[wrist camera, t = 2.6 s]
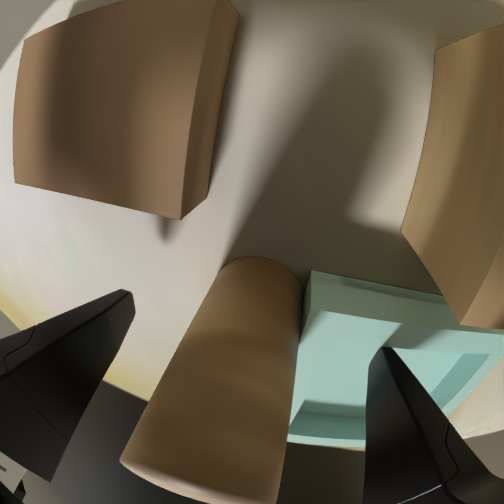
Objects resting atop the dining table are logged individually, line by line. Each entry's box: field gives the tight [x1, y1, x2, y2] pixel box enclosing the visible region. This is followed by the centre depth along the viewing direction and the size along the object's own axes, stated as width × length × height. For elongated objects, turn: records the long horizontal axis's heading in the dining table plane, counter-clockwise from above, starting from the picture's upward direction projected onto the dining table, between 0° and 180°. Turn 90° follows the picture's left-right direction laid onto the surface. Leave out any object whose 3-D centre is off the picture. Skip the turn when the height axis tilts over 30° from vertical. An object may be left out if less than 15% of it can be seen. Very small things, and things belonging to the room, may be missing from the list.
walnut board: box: [13, 0, 240, 220], centre depth 7 cm, size 8×6×2 cm
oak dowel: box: [120, 256, 302, 504], centre depth 7 cm, size 3×3×7 cm
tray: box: [287, 270, 504, 447], centre depth 10 cm, size 9×9×2 cm
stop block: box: [401, 24, 504, 330], centre depth 4 cm, size 2×6×4 cm, turn 173°
